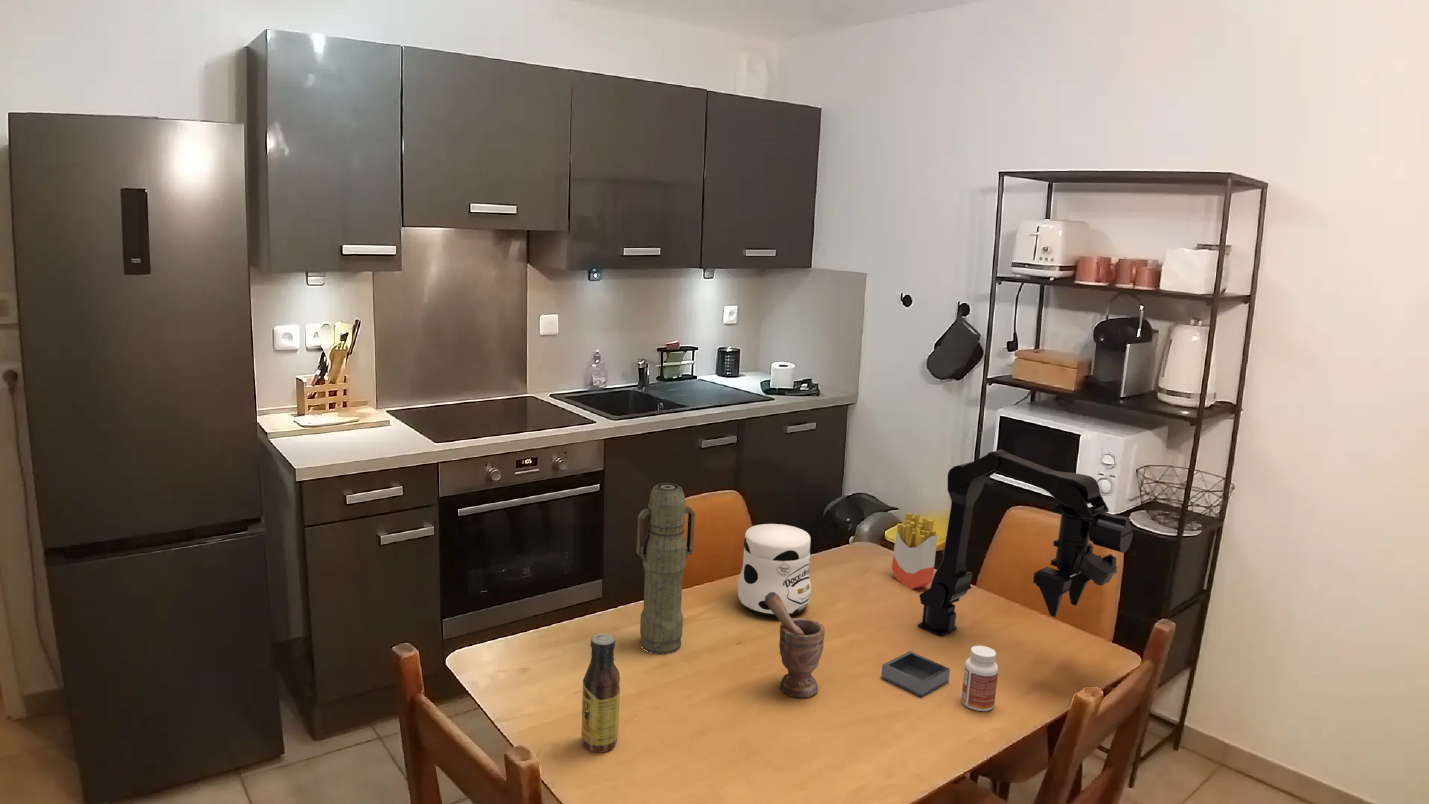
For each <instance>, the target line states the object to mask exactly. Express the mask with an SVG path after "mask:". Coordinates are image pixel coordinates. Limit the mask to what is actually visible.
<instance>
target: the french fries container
mask: <svg viewBox="0 0 1429 804" xmlns="http://www.w3.org/2000/svg"><path fill="white" fill-rule="evenodd" d="M920 516H921V515H920V514H919V513H918V514H916V513H915V516H913V513H912V512H906V513H905V522H902V523H896V526H897V528H896V534H895V535H896V536H895V541H894V548H893V555H892V563H891V564H892V565H891V570H892V573H893V574H894V576H895V578H896V580H898V581H900V582H901V583H900V582H899V583H900V584H902V583H904V584H905V585H907V586H909V587H910V588H909V587H908V588H909V589H911V588H912V589H911V590H915V588H916V589H920V587H921V588H925V587H926V586H928V585H929V584H930V585H931V583H932V580H933V577H934V572H935V562H936V553H937V552H936V551H937V545H938V543H937V542H938V534H937V530H934V520H932V519H928V518H926V517H922V521H920V520H921V519H920ZM898 581H897V582H898ZM905 585H904V586H905ZM907 586H906V587H907Z"/></svg>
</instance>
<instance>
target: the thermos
mask: <svg viewBox="0 0 1429 804" xmlns="http://www.w3.org/2000/svg"><path fill="white" fill-rule="evenodd" d="M684 493H685V492H684V491H683V488H682V487H681V486H679V485H678V484H675V483H668V482H667V483H665V482H664V483H658V484H656V485H655V486H654V485H653V488H652V489H651V492H650V495H649V498H648V505H647V508H643V509H642V510H641V511H640V512H639V514H638V516H637V532H636V533H637V534H636V537H637V538H636V554H637V555H638V557H640V558H641V559H642V560H643V561H642V566H643V569H644V587H643V588H644V591H643V593H644V594H643V609H642V610H641V613H640V623H639V625H640V626H639V627H640V628H639V634H640V643H639V644H641V645H640V647H641V646H642V647H643V649H645V650H647V651H648V652H647V651H646V652H647V653H649V652H652V653H651V654H653V653H657V654H656V655H669V654H668V653H670V654H673V653H672V652H674V653H676V652H678V651H679V650H681V646H682V636H683V629H684V615H683V612H682V596H683V595H682V594H683V593H682V592H683V575H684V574H683V573H684V571H685V568H686V561H687V560H686V559H688V556H690V555H692V554H693V550H694V537H695V536H694V535H695V534H694V533H695V520H696V519H695V516H696V515H695V511H693V509H692V508H691V507H690V506H689V505H686V499H685V494H684ZM686 515H687V530H686V531H687V534H686V538H685V529H684V526H685V520H686V519H685V518H686ZM646 517H647V523H648V527H647V532H646V536H645V519H646ZM644 537H645V538H644ZM643 649H642V650H643ZM645 650H644V651H645ZM677 650H678V651H677Z"/></svg>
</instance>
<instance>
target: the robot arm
mask: <svg viewBox="0 0 1429 804" xmlns="http://www.w3.org/2000/svg"><path fill="white" fill-rule="evenodd" d="M997 472H999V473H1001V474H1003V475H1006V476H1007V477H1011V478H1014V479H1016V480H1018V481H1021V482H1023V483H1026V484H1028V485H1031V486H1034V487H1036V488H1039V489H1042V490H1044V491H1045V492H1046V493H1048V494H1050V496H1052V497H1053V499H1055V500H1056V501H1058V502H1059V503H1058V504H1056V506H1053V507H1052V508H1050V511H1051V512H1052V513H1056V514H1060V520H1059V529H1058V536H1057V539H1055V540H1053V547H1056V551H1055V558H1053V559H1051V560H1050V566H1052V567H1049V566H1045V567H1043V568H1041V569H1039V570H1037V571H1035V572H1034V573H1033V580H1032V583H1033V584H1036V587H1038V588H1039V591H1040V593H1041V594H1042V598H1043V599H1044V603H1045V605H1046V608H1047V610H1048V613H1049V615H1050V617H1053V618H1056V617H1057V615H1058V612H1059V609H1060V605H1061V602H1062V597H1063V595H1064V594H1066V593H1068V594H1069V600H1070V604H1071V605H1072V606H1077V605H1078V603H1079V601H1080V599H1081V598H1082V595H1083V592H1084V591H1085V589H1086V587H1087V584H1088V583H1089V582H1090V581H1093V583H1094V584H1096V585H1097V586H1100V587H1102V586H1104V585H1106V584H1107V583H1109V582H1110V581H1111V579H1112V578H1113V576H1114V575H1115V574H1117V572H1118V570H1117V569H1118V566H1117V557H1116V556H1115V555H1113V554H1111V553H1109V554H1107V555H1105V556H1104V557H1102V555H1100V554H1099V555H1097V554H1095V553H1094V552H1093V551H1094V546H1093V545H1095V546H1098V547H1101V548H1105V549H1108V550H1111V551H1116V552H1118V553H1121V554H1124V553H1126V552H1127V551H1128V550H1129V547H1130V546H1131V543H1132V540H1133V536H1134V532H1133V529H1132V524H1130V523H1131V519H1130V517H1129V516H1128V517H1127V516H1124V515H1123V516H1122V515H1116V514H1112V513H1109V507H1108V506H1107V504H1106V502H1105V500H1104V498H1103V496H1102V494H1101V491H1100V486H1099V484H1098V482H1097V481H1098V480H1097V479H1095V478H1094V477H1092V476H1090V475H1087V474H1082V473H1076V472H1068V471H1067V472H1065V471H1059V470H1055V469H1052V468H1049V467H1046V466H1043V465H1041V464H1039V463H1035V462H1033V461H1030V460H1027V459H1025V458H1022V457H1019V456H1018V455H1017V456H1016V455H1014V454H1012V453H1009V452H1008V451H1006V450H1004V449H998V450H994V451H990V452H988V453H987V454H986V455H984V456H982V457H979V458H978V459H976V460H974V461H970V462H966V463H962V464H959V465H954V466H953V467H951V468H950V469H949V470H948V473H947V492H948V495H949V498H950V500H951V503H950V504H951V505H950V510H949V517H948V523H947V531H946V536H945V541H944V547H943V548H944V550H943V555H942V560H941V563H940V565H939V566H938V567H937V569H936V571H935V573H933V580H932V582H931V583H930V587H929V588H928V589H927V590H925V591H923V592H921V593H920V594H919V600H920V604H921V605H923V609H922V610H923V611H922V620H921V622H919V623H917V626H918V627H919V628H921V629H923V630H926V631H928V632H930V633H933V634H936V635H937V636H941V637H943V636H944V635H947V634H949V633H951V632H952V631H955V630H957V628H958V627H957V626H956V618H957V613H956V605H955V604H954V603H958V602H959V601H960V599H961V598H962V597H963V596H965V595H967V593H968V591H970V590H971V589H972V587H971V581H972V579H973V572H971V571H968V570H967V567H966V564H965V562H966V557H967V555H966V554H967V549H968V544H969V537H970V532H971V531H970V530H971V524H972V518H973V513H974V512H973V511H974V507H975V503H976V502H977V500H978V498H979V497H980V495H981V493H982V492H983V489H984V486H985V483H986V480H987V479H988V478H989V477H990V476H992V475H994V474H996V473H997ZM1089 505H1091V506H1090V507H1089ZM1089 542H1092V543H1089ZM1053 567H1056V568H1053Z"/></svg>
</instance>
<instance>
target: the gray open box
mask: <svg viewBox="0 0 1429 804" xmlns="http://www.w3.org/2000/svg"><path fill="white" fill-rule="evenodd" d="M950 671H951V668H949V667H947V666H946V665H945V666H944V665H942V664H940V663H938V662H936V661H933V660H931V659H929V658H927V657H925V656H922V655H920V654H917V653H916V652H913V651H911V650H909V651H907V652H905V653H903V654H902V655H899V656H897V657H895V658H893V659H891V660H889V661H887V662H885V663H883V664H882V666H881V676H880V679H882V680H884V681H886V682H888V683H890V684H892V685H894V686H896V687H899V688H901V689H903V690H904V691H906V692H908V693H911V694H913V695H915V696H917V697H919V698H924V697H925V696H927V695H928V694H930V693H932V692H934V691H936V690H938V689H940V688H942V687H943V686H945V685H947V684H948V683H949V681H950V680H949V679H950Z"/></svg>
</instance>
